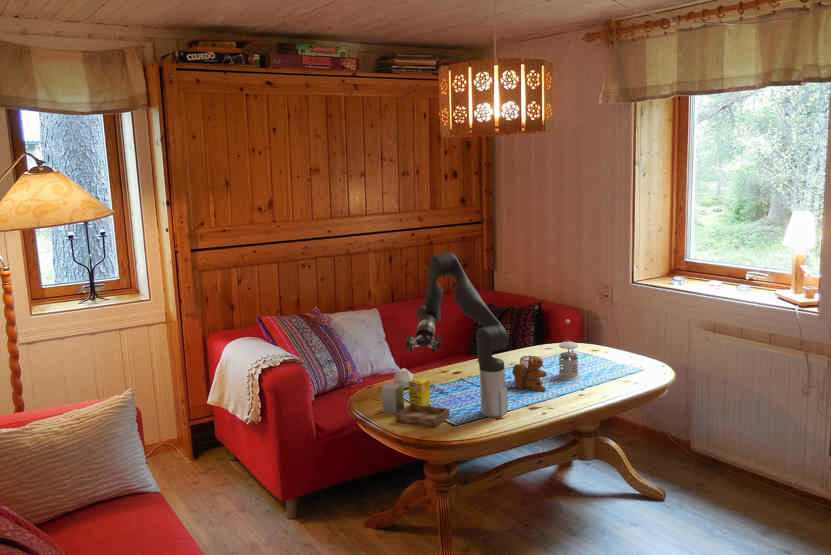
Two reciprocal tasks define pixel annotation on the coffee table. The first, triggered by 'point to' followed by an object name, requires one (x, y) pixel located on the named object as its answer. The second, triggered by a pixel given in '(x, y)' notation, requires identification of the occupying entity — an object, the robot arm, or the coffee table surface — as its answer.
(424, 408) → the walnut tray
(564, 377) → the french press
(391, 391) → the grey tin box
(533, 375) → the stuffed squirrel
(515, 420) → the coffee table surface
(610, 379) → the coffee table surface
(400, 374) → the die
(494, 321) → the robot arm
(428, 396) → the supplement box
